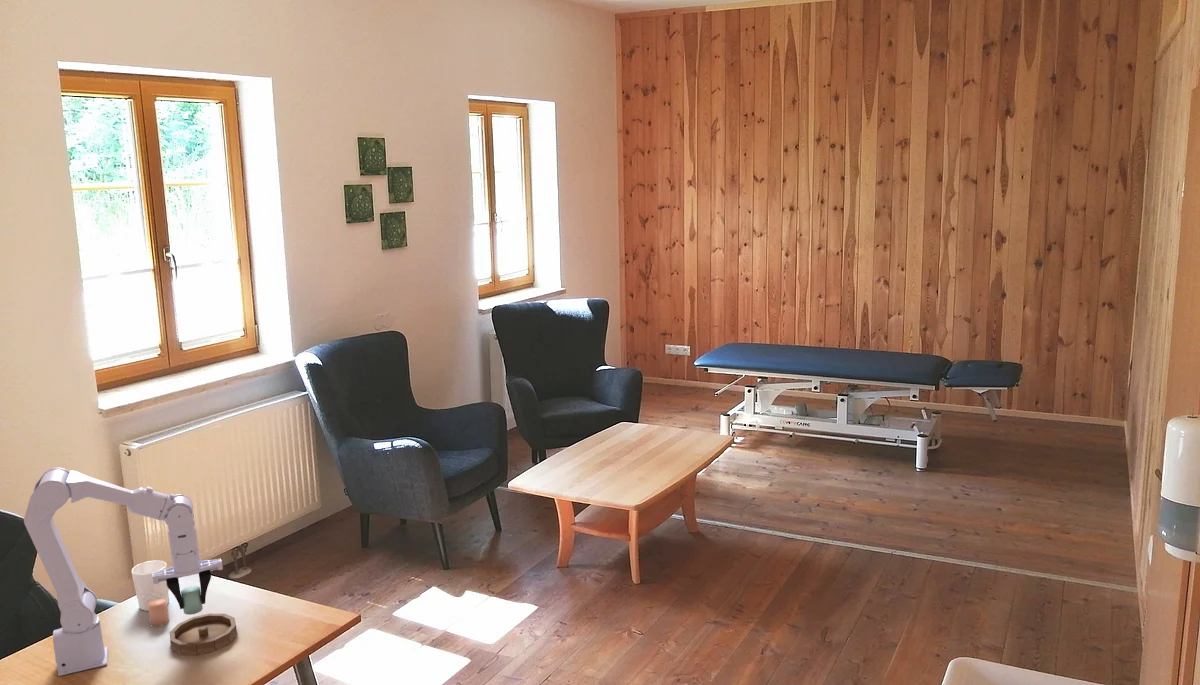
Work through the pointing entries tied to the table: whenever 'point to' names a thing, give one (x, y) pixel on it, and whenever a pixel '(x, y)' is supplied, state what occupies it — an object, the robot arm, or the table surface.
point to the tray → (203, 634)
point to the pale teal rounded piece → (191, 600)
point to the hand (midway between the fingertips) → (192, 604)
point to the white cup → (149, 583)
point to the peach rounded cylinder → (158, 612)
